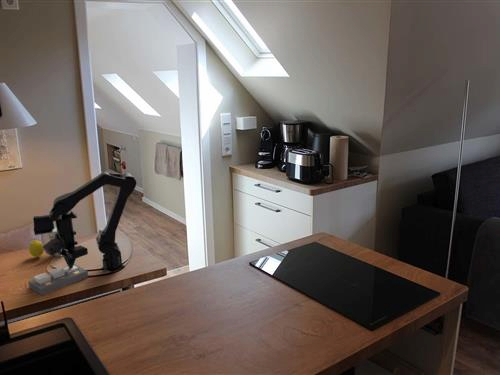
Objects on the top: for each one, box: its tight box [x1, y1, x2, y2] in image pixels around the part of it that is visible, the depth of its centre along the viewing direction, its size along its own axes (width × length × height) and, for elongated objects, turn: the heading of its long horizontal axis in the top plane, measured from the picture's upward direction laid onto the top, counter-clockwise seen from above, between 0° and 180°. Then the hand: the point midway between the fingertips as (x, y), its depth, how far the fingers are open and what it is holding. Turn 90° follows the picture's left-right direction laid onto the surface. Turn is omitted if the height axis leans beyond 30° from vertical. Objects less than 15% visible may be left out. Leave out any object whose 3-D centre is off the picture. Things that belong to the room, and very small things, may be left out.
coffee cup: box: [47, 225, 61, 257], centre depth 188 cm, size 8×8×12 cm
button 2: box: [62, 265, 78, 274], centre depth 169 cm, size 4×4×2 cm
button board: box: [28, 263, 89, 296], centre depth 164 cm, size 18×10×3 cm, turn 140°
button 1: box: [33, 272, 51, 284], centre depth 160 cm, size 4×4×2 cm
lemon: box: [28, 239, 45, 258], centre depth 186 cm, size 6×6×8 cm
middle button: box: [48, 267, 65, 279], centre depth 164 cm, size 4×4×2 cm
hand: (70, 268), depth 169 cm, fingers closed, pressing on button 2
